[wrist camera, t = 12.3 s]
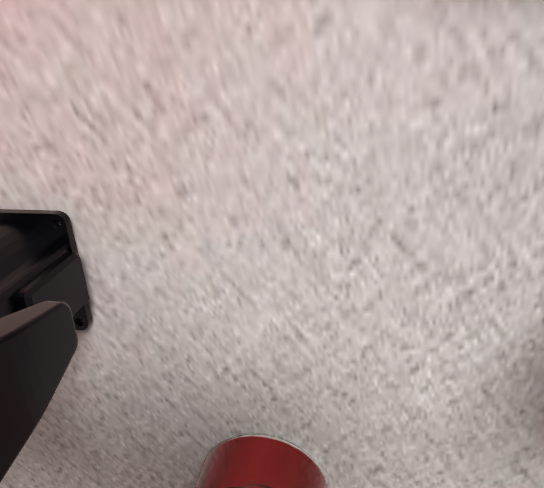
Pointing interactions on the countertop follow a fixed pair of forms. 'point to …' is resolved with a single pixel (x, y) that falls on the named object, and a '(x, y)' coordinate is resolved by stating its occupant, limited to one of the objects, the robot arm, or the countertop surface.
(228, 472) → the soda can
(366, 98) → the countertop surface
